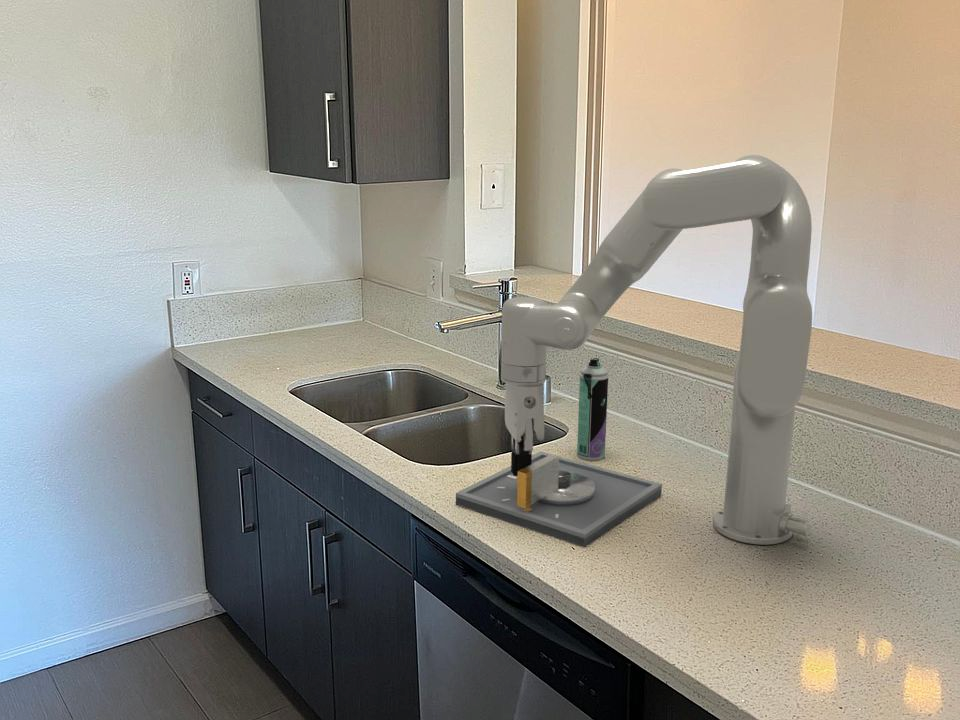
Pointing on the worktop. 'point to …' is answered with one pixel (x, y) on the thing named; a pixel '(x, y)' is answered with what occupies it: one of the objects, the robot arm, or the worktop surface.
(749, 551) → the worktop surface
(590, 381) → the spray can
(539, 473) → the dial
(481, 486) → the panel
